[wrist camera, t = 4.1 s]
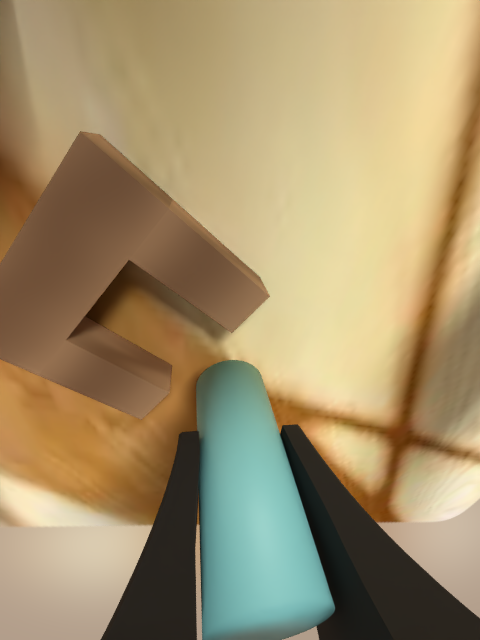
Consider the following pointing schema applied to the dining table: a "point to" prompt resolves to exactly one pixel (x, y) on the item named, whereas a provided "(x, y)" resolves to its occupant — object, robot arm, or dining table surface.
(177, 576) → the robot arm
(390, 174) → the dining table surface
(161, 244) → the block
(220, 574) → the dowel
